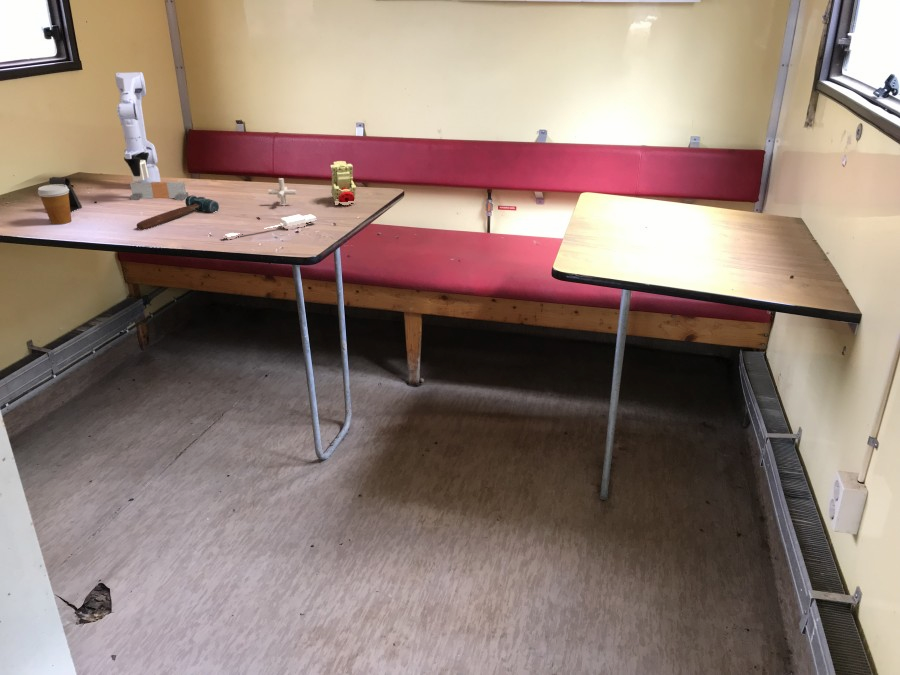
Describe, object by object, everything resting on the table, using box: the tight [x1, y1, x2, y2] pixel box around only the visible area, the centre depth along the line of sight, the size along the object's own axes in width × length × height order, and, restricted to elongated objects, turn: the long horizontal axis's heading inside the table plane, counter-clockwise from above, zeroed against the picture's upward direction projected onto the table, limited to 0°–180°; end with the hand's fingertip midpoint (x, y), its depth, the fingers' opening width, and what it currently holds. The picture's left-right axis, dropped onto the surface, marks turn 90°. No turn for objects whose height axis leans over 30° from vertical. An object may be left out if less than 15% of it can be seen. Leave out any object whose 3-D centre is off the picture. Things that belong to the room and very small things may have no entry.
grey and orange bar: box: [129, 181, 189, 201], centre depth 263 cm, size 6×20×6 cm, turn 90°
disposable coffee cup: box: [37, 184, 72, 225], centre depth 233 cm, size 10×10×12 cm
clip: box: [129, 160, 149, 181], centre depth 257 cm, size 5×4×6 cm
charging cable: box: [224, 213, 318, 237], centre depth 227 cm, size 5×32×3 cm, turn 126°
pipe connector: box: [267, 177, 297, 205], centre depth 253 cm, size 10×10×10 cm
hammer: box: [136, 194, 220, 231], centre depth 239 cm, size 14×5×30 cm
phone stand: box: [48, 176, 83, 213], centre depth 245 cm, size 9×6×12 cm, turn 170°
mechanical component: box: [330, 160, 357, 202], centre depth 256 cm, size 8×17×20 cm, turn 19°
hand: (140, 174), depth 257 cm, fingers closed on clip, 5 cm apart
